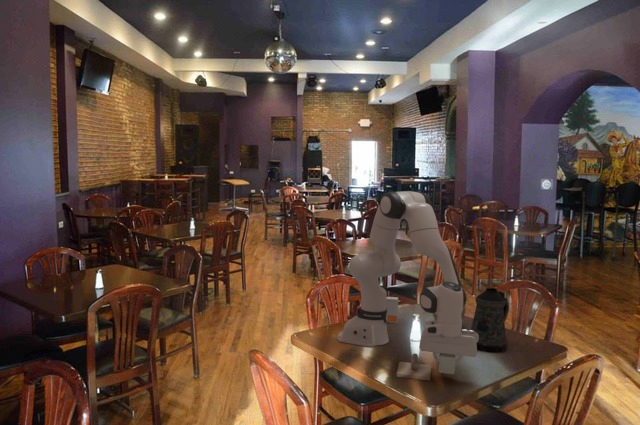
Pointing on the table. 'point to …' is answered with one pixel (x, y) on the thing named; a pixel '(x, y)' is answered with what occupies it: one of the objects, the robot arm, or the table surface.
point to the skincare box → (392, 309)
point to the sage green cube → (447, 363)
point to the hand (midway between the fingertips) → (446, 364)
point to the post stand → (414, 369)
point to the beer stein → (491, 321)
